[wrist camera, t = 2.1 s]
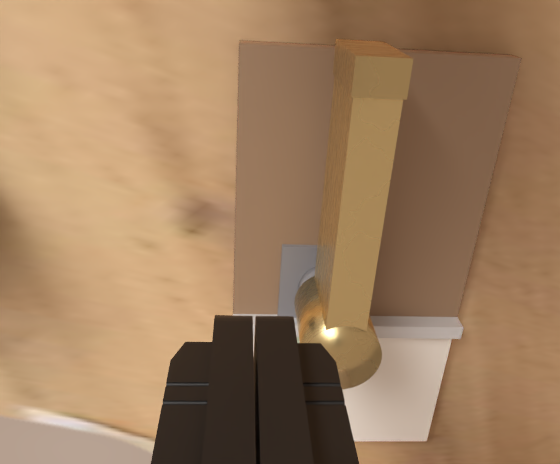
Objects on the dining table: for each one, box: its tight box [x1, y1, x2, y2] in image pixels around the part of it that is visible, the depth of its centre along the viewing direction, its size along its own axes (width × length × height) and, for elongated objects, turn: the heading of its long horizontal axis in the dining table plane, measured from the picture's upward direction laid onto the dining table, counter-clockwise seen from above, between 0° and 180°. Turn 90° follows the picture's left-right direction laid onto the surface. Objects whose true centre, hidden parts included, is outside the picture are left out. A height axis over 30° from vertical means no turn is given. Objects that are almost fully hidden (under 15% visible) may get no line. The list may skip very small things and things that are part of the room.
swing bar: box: [294, 39, 413, 389], centre depth 24 cm, size 15×4×5 cm, turn 177°
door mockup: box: [233, 40, 521, 441], centre depth 29 cm, size 24×13×4 cm, turn 177°
